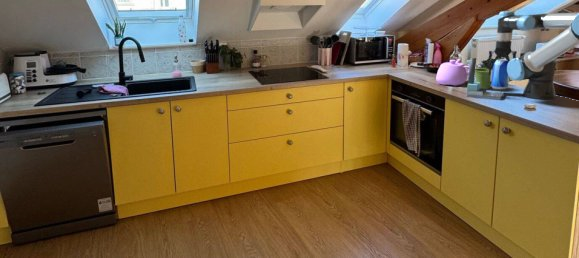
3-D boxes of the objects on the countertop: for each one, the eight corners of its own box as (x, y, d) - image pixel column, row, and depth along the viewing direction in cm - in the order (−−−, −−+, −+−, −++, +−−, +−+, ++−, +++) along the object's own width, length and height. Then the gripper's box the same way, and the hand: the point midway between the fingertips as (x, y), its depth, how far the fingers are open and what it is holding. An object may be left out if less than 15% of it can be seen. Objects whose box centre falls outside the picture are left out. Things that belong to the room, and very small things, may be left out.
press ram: (479, 91, 242) (482, 57, 237) (476, 94, 236) (479, 59, 230) (468, 90, 245) (471, 57, 240) (465, 93, 239) (468, 59, 233)
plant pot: (470, 86, 263) (471, 68, 259) (490, 86, 261) (492, 67, 258) (475, 90, 252) (476, 71, 248) (496, 90, 250) (498, 71, 246)
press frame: (503, 95, 237) (504, 89, 236) (500, 99, 229) (500, 93, 228) (471, 92, 247) (471, 86, 245) (466, 96, 238) (467, 90, 237)
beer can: (501, 90, 236) (504, 61, 231) (487, 87, 243) (490, 59, 238) (510, 88, 240) (514, 59, 235) (497, 85, 247) (500, 58, 242)
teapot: (467, 88, 258) (469, 63, 253) (432, 85, 270) (434, 61, 266) (477, 81, 275) (479, 58, 270) (444, 78, 287) (446, 56, 283)
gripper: (526, 40, 230) (521, 81, 237) (484, 39, 242) (481, 79, 248) (524, 41, 225) (519, 84, 231) (482, 40, 236) (478, 81, 243)
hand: (499, 81), depth 240 cm, fingers closed on beer can, 8 cm apart
